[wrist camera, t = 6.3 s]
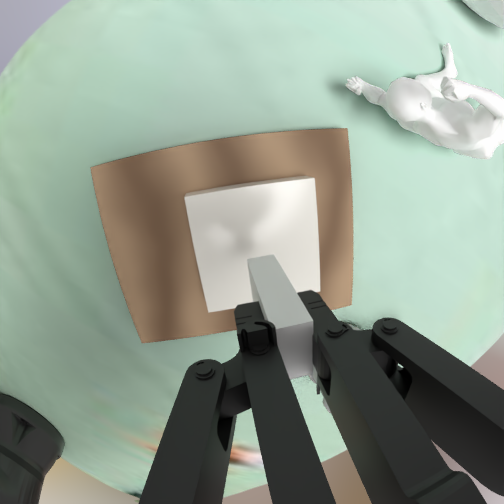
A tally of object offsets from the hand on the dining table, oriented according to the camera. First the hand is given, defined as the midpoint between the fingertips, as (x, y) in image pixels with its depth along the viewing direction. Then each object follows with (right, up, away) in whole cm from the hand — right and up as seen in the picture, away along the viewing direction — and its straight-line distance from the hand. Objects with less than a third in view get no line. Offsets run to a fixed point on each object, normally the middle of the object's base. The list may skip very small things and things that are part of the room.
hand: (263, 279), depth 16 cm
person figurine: (+16, +15, +6) cm, 23 cm away
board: (-2, +3, +7) cm, 8 cm away
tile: (-5, +1, +5) cm, 7 cm away
